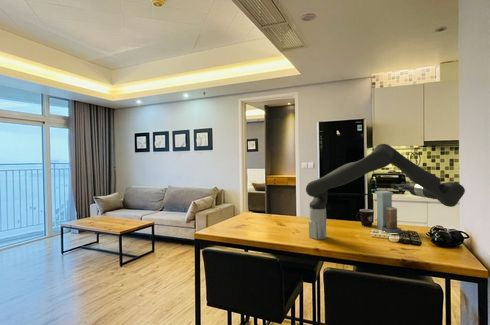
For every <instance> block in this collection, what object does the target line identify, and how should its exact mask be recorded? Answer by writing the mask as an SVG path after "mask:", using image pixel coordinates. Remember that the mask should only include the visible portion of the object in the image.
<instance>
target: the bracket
mask: <svg viewBox="0 0 490 325" xmlns="http://www.w3.org/2000/svg"><path fill="white" fill-rule="evenodd" d="M381 231H382V232H383V231H385V232H387V233H403V232H402V228H401V227H398V226H397V229H389V228H387V226H382V230H381ZM385 232H384V233H385ZM387 233H386V234H387Z"/></svg>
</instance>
